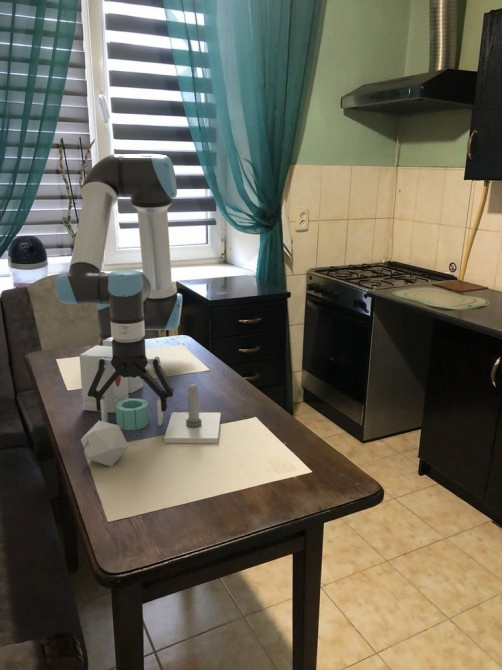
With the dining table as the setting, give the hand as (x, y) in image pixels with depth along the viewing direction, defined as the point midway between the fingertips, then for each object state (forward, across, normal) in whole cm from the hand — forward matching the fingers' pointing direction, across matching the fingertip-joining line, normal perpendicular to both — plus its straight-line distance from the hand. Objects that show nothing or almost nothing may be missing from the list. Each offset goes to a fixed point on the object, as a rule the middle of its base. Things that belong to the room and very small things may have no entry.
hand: (132, 423), depth 130 cm
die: (+1, -2, -18) cm, 18 cm away
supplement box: (0, -9, +11) cm, 14 cm away
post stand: (0, +15, -3) cm, 15 cm away
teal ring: (0, 0, 0) cm, 0 cm away
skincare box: (0, -7, +23) cm, 24 cm away
